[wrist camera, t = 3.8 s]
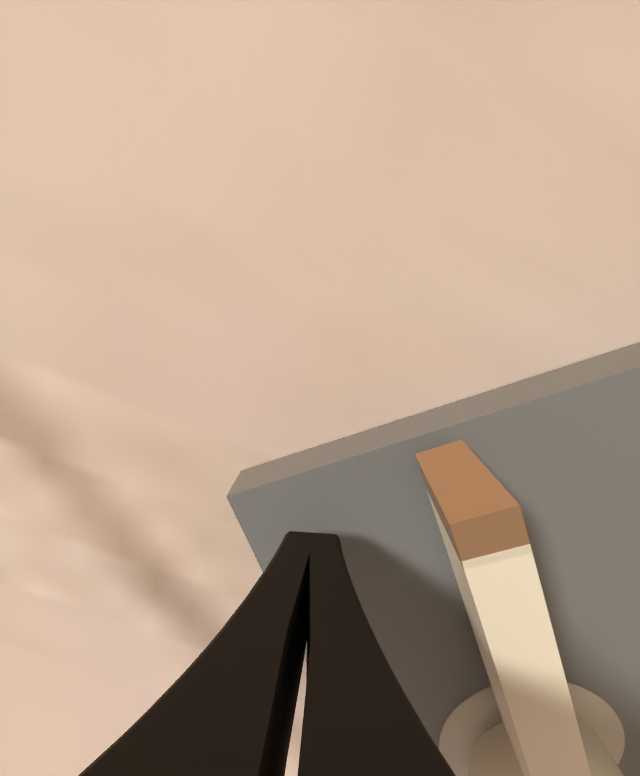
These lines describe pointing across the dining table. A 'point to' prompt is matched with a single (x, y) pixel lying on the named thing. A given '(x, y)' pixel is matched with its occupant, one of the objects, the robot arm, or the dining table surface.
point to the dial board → (430, 558)
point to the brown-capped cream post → (508, 625)
